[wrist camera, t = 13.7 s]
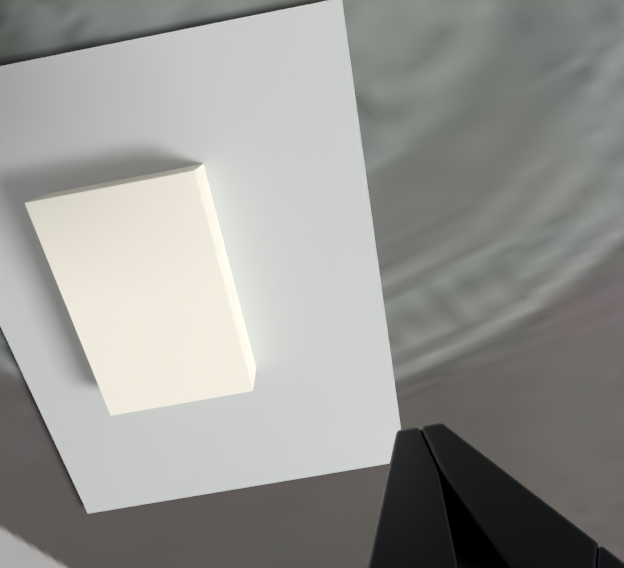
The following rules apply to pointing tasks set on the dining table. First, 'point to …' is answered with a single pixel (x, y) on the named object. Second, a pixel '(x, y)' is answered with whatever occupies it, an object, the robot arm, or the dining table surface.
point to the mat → (238, 243)
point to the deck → (148, 288)
